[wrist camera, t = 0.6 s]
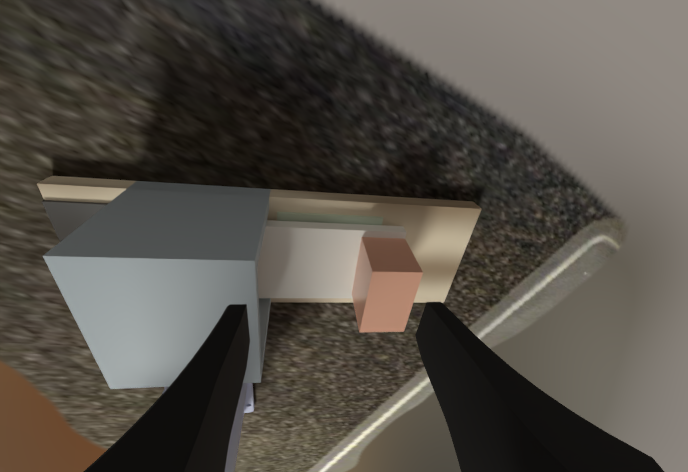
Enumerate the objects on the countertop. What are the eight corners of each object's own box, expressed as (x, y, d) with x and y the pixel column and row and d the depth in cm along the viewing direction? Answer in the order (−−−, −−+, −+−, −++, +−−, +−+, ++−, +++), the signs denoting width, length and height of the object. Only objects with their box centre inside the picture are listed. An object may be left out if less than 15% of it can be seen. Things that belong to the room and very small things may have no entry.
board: (438, 292, 26) (444, 304, 25) (100, 290, 22) (88, 304, 21) (473, 201, 22) (482, 210, 21) (52, 175, 17) (34, 184, 16)
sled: (386, 291, 23) (406, 348, 19) (153, 289, 21) (112, 355, 16) (403, 226, 20) (431, 275, 16) (131, 214, 18) (73, 270, 13)
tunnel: (272, 291, 24) (260, 382, 18) (165, 291, 23) (110, 388, 16) (270, 189, 19) (254, 260, 13) (136, 180, 18) (42, 255, 12)
